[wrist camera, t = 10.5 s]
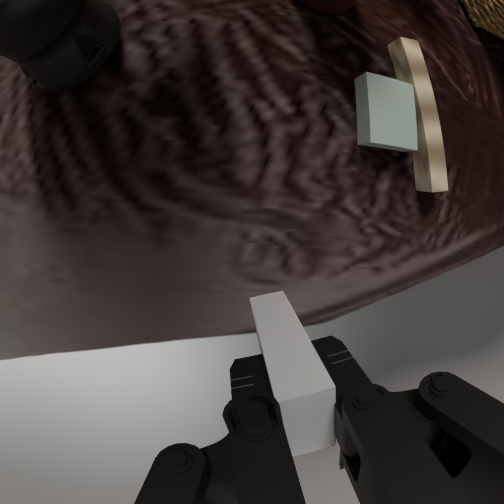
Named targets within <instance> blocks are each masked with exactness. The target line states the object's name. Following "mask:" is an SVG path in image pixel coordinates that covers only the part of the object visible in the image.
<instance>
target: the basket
mask: <svg viewBox="0 0 504 504" xmlns="http://www.w3.org/2000/svg"><path fill="white" fill-rule="evenodd" d="M460 1H461V2H462V3H463V4H464V6H465V9H466V10H467V12H468V14H469V17H470V19H471V20H472V22H474V23H473V25H475V26H476V27H482V28H483V29H486V30H487V31H488V32H491V33H493V34H494V35H495V36H497V37H500V38H501V39H503V40H504V0H460Z"/></svg>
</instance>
